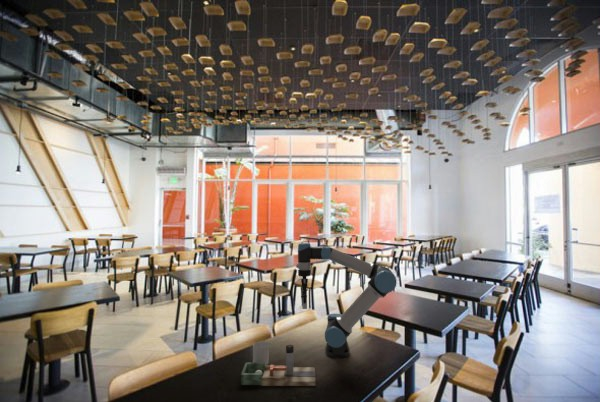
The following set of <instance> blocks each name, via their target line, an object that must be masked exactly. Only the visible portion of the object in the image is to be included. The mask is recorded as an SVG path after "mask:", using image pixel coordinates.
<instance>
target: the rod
mask: <svg viewBox="0 0 600 402" xmlns="http://www.w3.org/2000/svg"><path fill="white" fill-rule="evenodd" d="M294 349H295V348H294V345H292V344H288V345H286V346H285V356H286V357H285V359H286V361H285V364H286V366H274V365H275V364H270V365H271V366H270V376H273V372H274V371H286V375H293V372H294Z"/></svg>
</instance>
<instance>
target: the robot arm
mask: <svg viewBox="0 0 600 402" xmlns="http://www.w3.org/2000/svg"><path fill="white" fill-rule="evenodd" d="M311 260H329V261H331V262H334V263H336V264H338V265H341V266H343V267H346V268H348V269H350V270H353V271H355V272H357V273H360V274H361V275H365V276H366V277H367V279H369V280H368V282H367V287H366V288H365V289H364V290H363V292H361V293H360V294H359V296H358V297H357V298H356V299H355V300H354V301H353V303H351V304H350V306H349V307H348V308H347V309H346V310H345V311H344V312H343V313H342V314H341V313H329V314H328V315H327V319H326V320H327V324H326V325H327V326H326V328H325V330H324V340H325V341H326V345H325V349H324V350H325V351H324V352H325V355H326V356H328V357H331V358H335V359H342V358H343V359H344V358H348V357H349V356H350V355H351V353H350V352H351V350H350V346H349V343H348V339H347V338H348V337H350V336H351V334H352V332H353V327H355V325H356V324H357V323H358V322H359V321H360V320H361V319H362V317H364V316H365V315H366V313H367V312H368V311H369V310H370V309H371V307H373V306H374V305H375V303H377V301H378V300H379V299H380V298H385V297H386V296H387V295H388V294H389V293H392V292H393V291H395V289H396V287H397V277H396V276H395V273H393V271H392V270H391V269H390V268H388V267H386V266H383V265H379V264H377V263H374V262H372V263H369V262H367V261H364V260H363V259H359V258H357V257H355V256H352V255H350V254H349V253H348V254H347V253H345V252H343V251H341V250H338V249H335V248H333V247H332V246H331V247H330V246H328V245H327V244H325V243H324V244H320V245H319V246H311V243H309V242H299V243H298V245H297V263H296V265H297V268H298V269H297V276H299V277H302V278H301V279H300V280H301V281H300V282H301V288H302V292H301V293H302V295H300V298H302V300H301V303H302V310H308V291H309V290H308V284H309V283H308V282H309V280H308V277H310V276H311V275H312V274H311V273H312V271H311V268H312V265H311V263H312V262H311Z"/></svg>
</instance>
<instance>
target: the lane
mask: <svg viewBox="0 0 600 402" xmlns="http://www.w3.org/2000/svg"><path fill="white" fill-rule="evenodd" d="M270 366H271V364H270V365H269V364H267V365H265V362H253V361H252V362H245V363H244V366H243V368H242V370H241V372H240V386H261V387H262V386H263V387H265V386H266V387H267V386H268V387H277V386H280V387H284V386H285V387H286V386H287V387H289V386H290V387H291V386H293V387H294V386H295V387H297V386H298V387H299V386H300V387H301V386H303V387H307V386H308V387H311V386H312V387H315V386H316V384H317V383H316V382H317V381H316V370H315V367H310V366H308V367H307V366H306V367H302V366H299V367H297V366H295V367H294V372H293V375H286V371H274V372H273V376H270ZM274 366H286V365H284V364H283V365H281V364H280V365H276V364H274ZM257 370H261V371H262V373H255V372H256V371H257Z"/></svg>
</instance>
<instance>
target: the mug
mask: <svg viewBox="0 0 600 402" xmlns="http://www.w3.org/2000/svg"><path fill="white" fill-rule="evenodd" d="M269 349H270V348H269V343H268V342H266V341H257V342H254V343H253V345H252V362H265V365H269V362H270V361H269V357H270V356H269V354H270V353H269Z"/></svg>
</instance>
